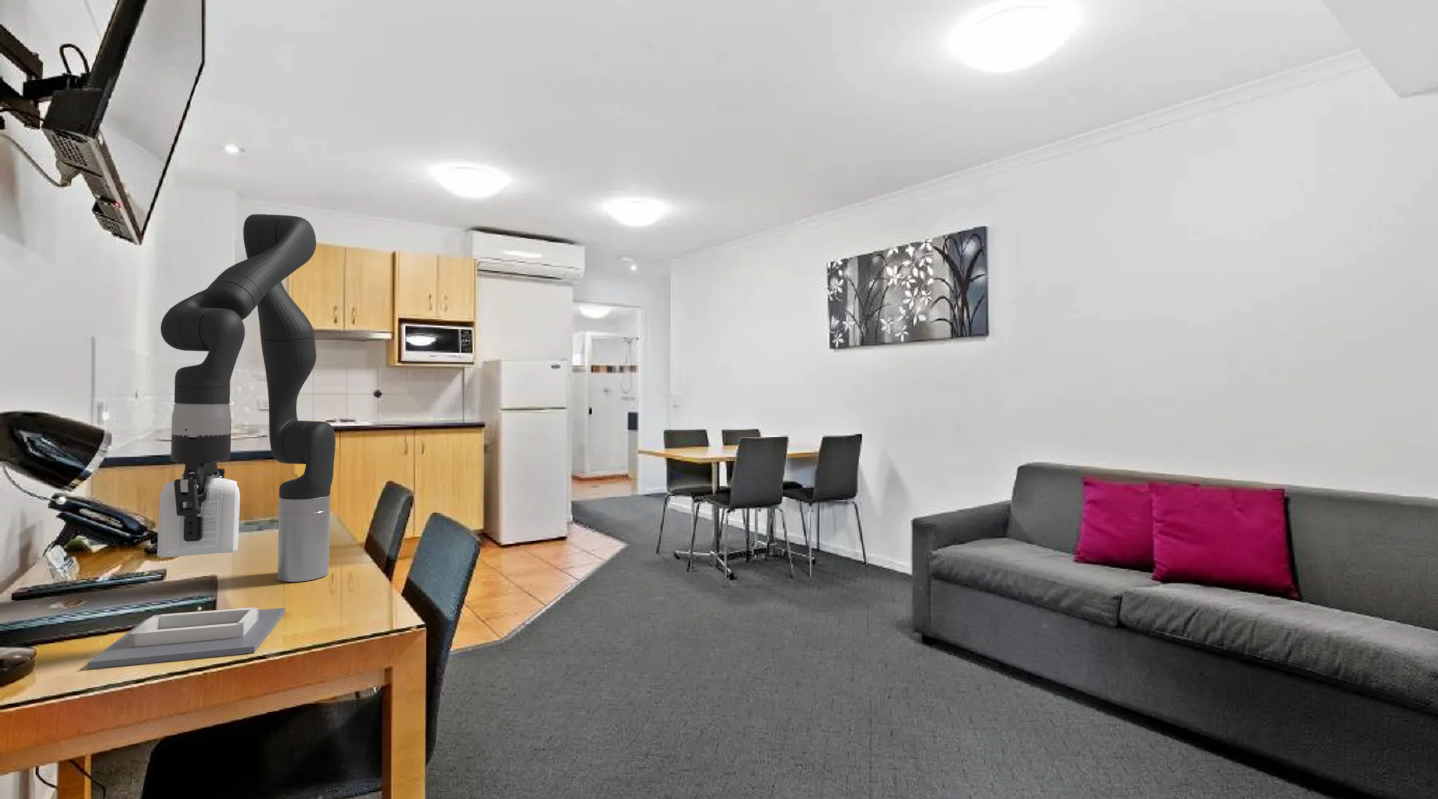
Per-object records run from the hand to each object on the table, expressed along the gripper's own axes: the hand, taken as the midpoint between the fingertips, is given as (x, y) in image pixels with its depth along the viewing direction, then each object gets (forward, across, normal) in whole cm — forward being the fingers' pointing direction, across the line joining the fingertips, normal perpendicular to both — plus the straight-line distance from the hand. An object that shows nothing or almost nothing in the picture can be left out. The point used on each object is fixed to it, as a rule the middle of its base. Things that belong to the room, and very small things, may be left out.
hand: (199, 536), depth 105 cm
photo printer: (+3, 0, 0) cm, 3 cm away
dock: (+17, 0, 0) cm, 17 cm away
